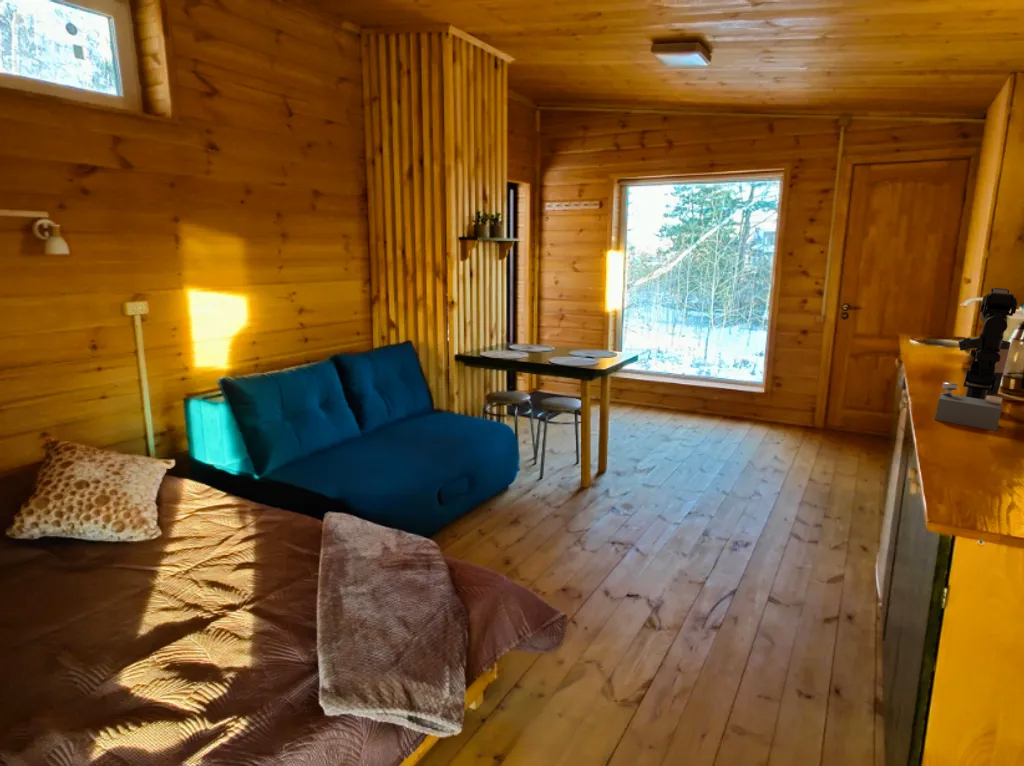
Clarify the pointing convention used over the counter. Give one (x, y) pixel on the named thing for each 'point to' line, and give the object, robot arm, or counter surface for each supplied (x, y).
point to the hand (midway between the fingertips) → (981, 377)
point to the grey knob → (949, 387)
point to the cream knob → (994, 399)
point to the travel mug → (1000, 365)
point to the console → (968, 411)
